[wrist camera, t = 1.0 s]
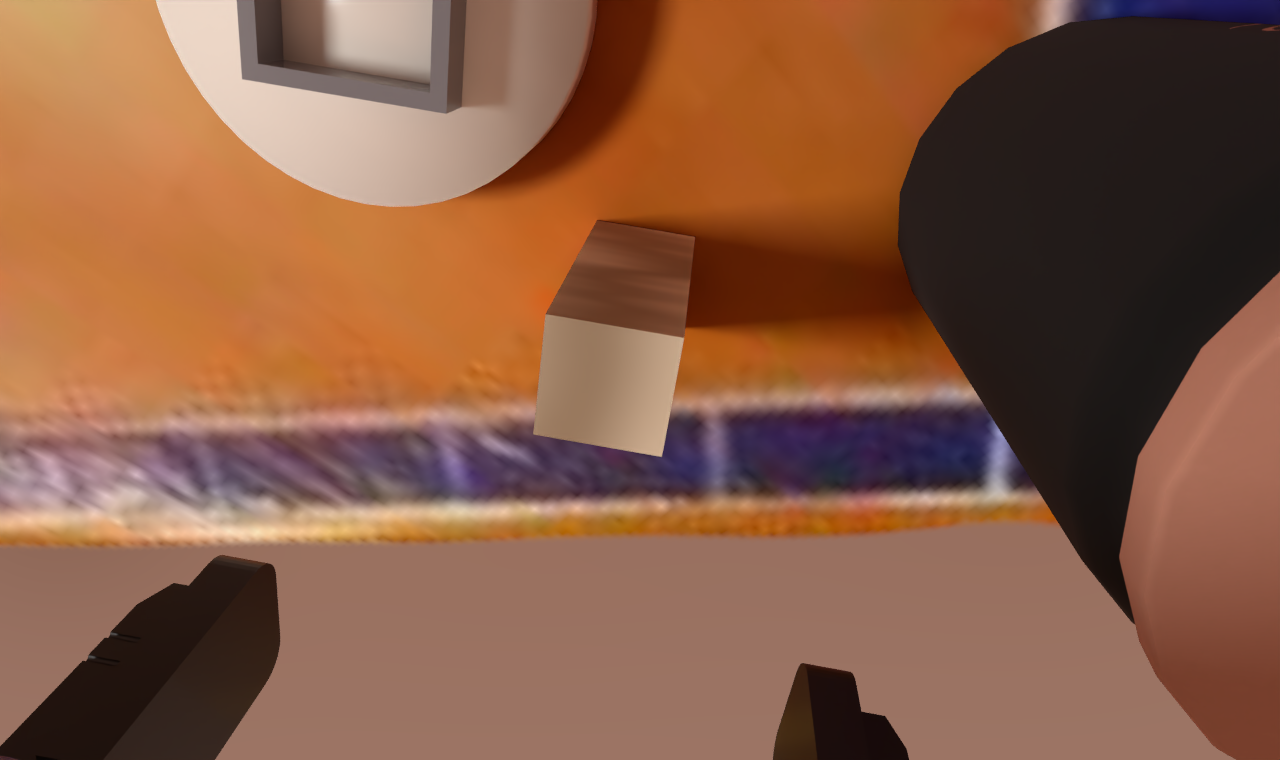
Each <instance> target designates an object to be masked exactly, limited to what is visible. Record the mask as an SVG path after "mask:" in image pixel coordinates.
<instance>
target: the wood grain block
mask: <svg viewBox="0 0 1280 760" xmlns="http://www.w3.org/2000/svg"><path fill="white" fill-rule="evenodd" d="M694 243H695V237H693V236H687V235H681V234H675V233H670V232H664V231H658V230H652V229H646V228H640V227H635V226H629V225H623V224H617V223H611V222H605V221H599V220H597V222H596V223H595V225H594V227H593V229H592V231H591V233H590V234H589V236H588V238H587V240H586V242H585V243H584V245H583V247H582V249H581V251H580V253H579V254H578V256H577V258H576V260H575V262H574V263H573V265H572V267H571V269H570V271H569V273H568V274H567V276H566V278H565V280H564V282H563V284H562V285H561V287H560V289H559V291H558V293H557V294H556V296H555V298H554V300H553V302H552V304H551V305H550V307H549V309H548V311H547V313H546V316H545V326H544V336H543V345H542V355H541V365H540V375H539V384H538V394H537V404H536V413H535V423H534V433H533V434H535V435H541V436H546V437H552V438H558V439H563V440H569V441H575V442H580V443H586V444H592V445H597V446H603V447H609V448H614V449H620V450H626V451H632V452H637V453H643V454H649V455H654V456H660V457H662V453H663V448H664V442H665V437H666V432H667V426H668V421H669V416H670V410H671V405H672V400H673V394H674V389H675V384H676V378H677V373H678V368H679V362H680V357H681V352H682V346H683V341H684V334H685V325H686V316H687V307H688V298H689V289H690V280H691V270H692V261H693V252H694Z"/></svg>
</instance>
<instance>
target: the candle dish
mask: <svg viewBox="0 0 1280 760" xmlns="http://www.w3.org/2000/svg"><path fill="white" fill-rule="evenodd" d="M156 2H157V6H158V10H159V12H160V15H161V17H162V20H163V22H164V25H165V28H166V30H167V33H168V35H169V38H170V40H171V42H172V44H173V46H174V48H175V50H176V52H177V54H178V56H179V58H180V60H181V62H182V64H183V66H184V68H185V69H186V71H187V73H188V74H189V76H190V77H191V79H192V80H193V82H194V83H195V85H196V86H197V88H198V90H199V91H200V93H201V94H202V96H203V97H204V98H205V99H206V101H207V102H208V103H209V104H210V106H211V107H212V108H213V110H214V111H215V112H216V113H217V115H218V116H219V117H220V118H221V120H222V121H223V122H224V123H225V124H226V125H227V126H228V127H229V128H230V129H231V130H232V131H233V132H234V133H235V134H236V135H237V136H238V137H239V138H240V139H241V140H242V141H243V142H244V143H245V144H247V145H248V146H249V147H250V148H252V149H253V150H254V151H255V152H256V153H258V154H259V155H260V156H261V157H262V158H264V159H265V160H266V161H268V162H269V163H271V164H272V165H274V166H275V167H277V168H278V169H280V170H281V171H283V172H284V173H286V174H287V175H289V176H291V177H293V178H295V179H297V180H299V181H301V182H303V183H305V184H306V185H308V186H310V187H312V188H314V189H317V190H320V191H322V192H325V193H328V194H331V195H333V196H336V197H339V198H342V199H347V200H351V201H355V202H359V203H363V204H371V205H380V206H389V207H397V206H419V205H425V204H431V203H437V202H442V201H446V200H449V199H452V198H455V197H458V196H461V195H464V194H467V193H469V192H471V191H473V190H475V189H477V188H479V187H481V186H483V185H485V184H487V183H489V182H491V181H492V180H494V179H495V178H496V177H498V176H499V175H501V174H502V173H504V172H505V171H507V170H508V169H510V168H511V167H512V166H513V165H515V164H516V163H517V162H518V161H519V160H521V159H522V158H523V157H524V156H525V155H526V154H528V153H529V152H530V151H531V150H532V149H533V148H534V147H535V146H536V145H537V144H538V143H540V142H541V141H542V140H543V138H544V137H545V136H546V135H547V134H548V132H549V131H550V130H551V129H552V128H553V126H554V125H555V124H556V123H557V122H558V120H559V119H560V117H561V115H562V114H563V112H564V111H565V109H566V107H567V106H568V104H569V103H570V101H571V99H572V98H573V95H574V93H575V91H576V89H577V86H578V84H579V82H580V80H581V78H582V75H583V73H584V70H585V66H586V63H587V60H588V57H589V53H590V50H591V47H592V42H593V36H594V30H595V24H596V19H597V4H598V0H156Z"/></svg>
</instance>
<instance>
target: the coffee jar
mask: <svg viewBox="0 0 1280 760" xmlns="http://www.w3.org/2000/svg"><path fill="white" fill-rule="evenodd" d="M898 247H899V250H900V253H901V257H902V260H903V263H904V266H905V269H906V273H907V276H908V279H909V282H910V285H911V288H912V291H913V293H914V295H915V296H916V298H917V299H918V301H919V303H920V304H921V306H922V307H923V309H924V311H925V312H926V314H927V315H928V317H929V318H930V320H931V322H932V323H933V325H934V326H935V328H936V330H937V331H938V333H939V334H940V336H941V337H942V339H943V341H944V342H945V344H946V345H947V347H948V349H949V350H950V352H951V353H952V355H953V356H954V358H955V360H956V361H957V363H958V364H959V366H960V368H961V369H962V371H963V372H964V374H965V375H966V377H967V379H968V380H969V382H970V383H971V385H972V387H973V388H974V390H975V391H976V393H977V395H978V396H979V398H980V399H981V401H982V402H983V404H984V406H985V407H986V409H987V410H988V412H989V414H990V415H991V417H992V418H993V420H994V421H995V423H996V425H997V426H998V428H999V429H1000V431H1001V433H1002V434H1003V436H1004V437H1005V439H1006V440H1007V442H1008V444H1009V445H1010V447H1011V448H1012V450H1013V452H1014V453H1015V455H1016V456H1017V458H1018V460H1019V461H1020V463H1021V464H1022V466H1023V467H1024V469H1025V471H1026V472H1027V474H1028V475H1029V477H1030V479H1031V480H1032V482H1033V483H1034V485H1035V486H1036V488H1037V490H1038V491H1039V493H1040V494H1041V496H1042V498H1043V499H1044V501H1045V502H1046V504H1047V505H1048V507H1049V509H1050V510H1051V512H1052V513H1053V515H1054V517H1055V518H1056V520H1057V521H1058V523H1059V524H1060V526H1061V528H1062V529H1063V531H1064V532H1065V534H1066V535H1067V537H1068V539H1069V540H1070V542H1071V543H1072V545H1073V546H1074V548H1075V550H1076V551H1077V553H1078V555H1079V556H1080V558H1081V559H1082V561H1083V562H1084V563H1085V565H1086V566H1087V567H1088V568H1089V570H1090V571H1091V572H1092V573H1093V575H1095V577H1096V578H1097V580H1098V581H1099V582H1100V583H1101V585H1102V586H1103V587H1104V588H1105V589H1106V591H1107V592H1108V593H1109V594H1110V596H1111V597H1112V598H1113V599H1114V601H1115V602H1116V603H1117V604H1118V606H1119V607H1120V608H1121V609H1122V611H1123V612H1124V613H1125V614H1126V616H1127V617H1128V618H1129V619H1130V620H1131V622H1133V623H1134V624H1135V625H1136V629H1137V633H1138V637H1139V642H1140V643H1141V646H1142V648H1143V649H1144V652H1145V654H1146V656H1147V658H1148V660H1149V662H1150V664H1151V666H1152V668H1153V670H1154V672H1155V674H1156V675H1157V677H1158V678H1159V680H1160V681H1161V682H1162V684H1163V685H1164V686H1165V687H1166V689H1167V690H1168V691H1169V692H1170V693H1171V694H1172V696H1173V697H1174V698H1175V700H1176V701H1177V702H1178V703H1179V704H1180V706H1181V707H1182V708H1183V709H1184V711H1185V712H1186V713H1187V714H1188V715H1189V717H1190V718H1191V719H1192V720H1193V722H1194V723H1195V724H1196V725H1197V727H1198V728H1199V729H1200V730H1201V731H1202V733H1203V734H1204V735H1205V736H1206V738H1207V739H1208V740H1209V741H1210V742H1211V744H1212V745H1213V746H1215V747H1216V748H1217V749H1219V750H1220V751H1222V752H1224V753H1226V754H1227V755H1229V756H1231V757H1233V758H1234V759H1236V760H1280V25H1271V24H1254V23H1237V22H1220V21H1203V20H1186V19H1169V18H1152V17H1135V16H1131V17H1121V18H1111V19H1101V20H1091V21H1081V22H1070V23H1067V24H1065V25H1062V26H1060V27H1057V28H1055V29H1053V30H1050V31H1048V32H1045V33H1043V34H1041V35H1038V36H1036V37H1033V38H1031V39H1029V40H1026V41H1024V42H1021V43H1019V44H1017V45H1014V46H1012V47H1009V48H1007V49H1006V50H1005V51H1004V52H1002V53H1001V54H1000V55H999V56H997V57H996V58H995V59H994V60H992V61H991V62H990V63H988V64H987V65H986V66H985V67H983V68H982V69H981V70H980V71H978V72H977V73H976V74H975V75H973V76H972V77H971V78H969V79H968V80H967V81H966V82H964V83H963V84H962V85H961V86H959V87H958V88H957V89H956V90H955V91H954V93H953V94H952V96H951V97H950V98H949V100H948V101H947V102H946V104H945V105H944V106H943V108H942V109H941V110H940V112H939V113H938V115H937V116H936V117H935V119H934V120H933V121H932V123H931V124H930V125H929V127H928V128H927V130H926V131H925V132H924V134H923V135H922V136H921V138H920V139H919V142H918V145H917V147H916V150H915V153H914V156H913V158H912V161H911V164H910V167H909V169H908V172H907V175H906V178H905V180H904V183H903V186H902V189H901V191H900V203H899V230H898Z"/></svg>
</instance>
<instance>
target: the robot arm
mask: <svg viewBox="0 0 1280 760" xmlns="http://www.w3.org/2000/svg"><path fill="white" fill-rule="evenodd" d="M279 646H280V628H279V614H278V599H277V583H276V572H275V569H274V567H273V565H271V564H268V563H262V562H258V561H252V560H246V559H241V558H236V557H230V556H225V555H220V556H218V557H216V558H214V559H213V560H212V561H211V562H210V563H209V564H208V565H207V566H206V567H205V568H204V569H203V571H202V572H201V573H200V574H199V575H198V576H197V577H196V578H195V579H194V581H193V582H192V583H191V584H190V585H189V586H187V585H181V584H176V583H173V584H171V585H170V586H168V587H166V588H165V589H163V590H161V591H159V592H158V593H156V594H154V595H153V596H151V597H149V598H147V599H146V600H144V601H142V602H140V603H139V604H137V605H136V606H135V607H134V608H133V609H132V610H131V611H130V612H129V613H128V614H127V616H126V617H125V618H124V619H123V620H122V621H121V622H120V623H119V624H118V625H117V626H116V627H115V628H114V629H113V630H112V631H111V633H110V636H109V638H104V639H103V640H102V641H101V642H100V644H99V645H98V646H97V647H96V648H95V649H94V650H93V651H92V652H91V653H90V654H89V656H88V659H87V661H82V662H81V663H80V664H79V665H78V666H77V667H76V668H75V669H74V670H73V672H72V673H71V674H70V675H69V676H68V677H67V678H66V679H65V680H64V681H63V682H62V683H61V684H60V685H59V686H58V687H57V688H56V689H55V690H54V691H53V692H52V693H51V694H50V695H49V696H48V698H47V699H46V700H45V701H44V702H43V703H42V704H41V705H40V706H39V707H38V708H37V709H36V710H35V711H34V712H33V713H32V714H31V715H30V716H29V717H28V718H27V719H26V720H25V721H24V723H22V724H21V726H19V728H18V729H17V730H16V731H15V732H14V733H13V734H12V735H11V736H10V737H9V738H8V739H7V740H6V741H5V742H4V743H3V744H2V745H1V746H0V760H215V759H216V757H217V756H218V754H219V753H220V751H221V749H222V748H223V747H224V745H225V744H226V742H227V741H228V739H229V738H230V736H231V735H232V733H233V732H234V730H235V729H236V727H237V726H238V724H239V723H240V721H241V719H242V718H243V717H244V715H245V714H246V712H247V711H248V709H249V708H250V706H251V705H252V703H253V702H254V700H255V699H256V697H257V696H258V694H259V693H260V691H261V690H262V688H263V687H264V685H265V684H266V682H267V681H268V679H269V677H270V675H271V673H272V670H273V668H274V665H275V663H276V660H277V656H278V652H279ZM773 760H909V758H908V753H907V750H906V748H905V746H904V744H903V743H902V741H901V740H900V738H899V737H898V735H897V734H896V732H895V731H894V729H893V728H892V726H891V724H890V723H889V721H888V720H887V718H886V717H885V716H882V715H876V714H871V713H865V712H861V707H860V702H859V697H858V691H857V686H856V681H855V678H854V676H853V674H852V673H851V672H848V671H842V670H837V669H832V668H826V667H821V666H815V665H810V664H804V663H802V664H800V666H799V668H798V670H797V673H796V676H795V679H794V682H793V685H792V688H791V692H790V695H789V697H788V701H787V704H786V707H785V710H784V713H783V716H782V719H781V723H780V726H779V729H778V732H777V736H776V741H775V747H774V754H773Z"/></svg>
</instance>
